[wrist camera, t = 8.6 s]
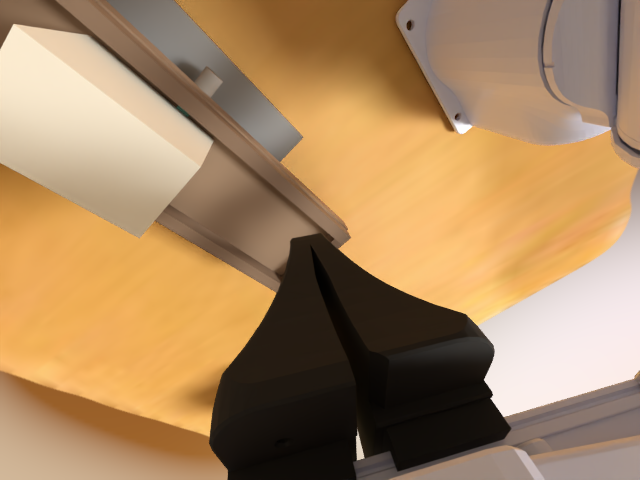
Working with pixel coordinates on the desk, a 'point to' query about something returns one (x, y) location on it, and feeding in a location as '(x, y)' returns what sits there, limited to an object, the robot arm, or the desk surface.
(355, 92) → the desk surface
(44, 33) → the block
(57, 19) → the balance beam
